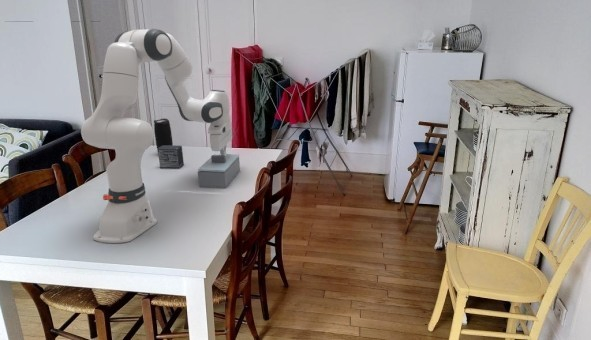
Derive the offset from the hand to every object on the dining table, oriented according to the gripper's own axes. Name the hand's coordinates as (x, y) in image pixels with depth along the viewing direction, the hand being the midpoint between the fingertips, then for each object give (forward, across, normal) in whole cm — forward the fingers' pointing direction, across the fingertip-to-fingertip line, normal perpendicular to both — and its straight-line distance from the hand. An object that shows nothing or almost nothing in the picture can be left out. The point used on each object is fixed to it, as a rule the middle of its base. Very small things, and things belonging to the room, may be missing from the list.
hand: (223, 154), depth 191 cm
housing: (+10, +6, 0) cm, 12 cm away
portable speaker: (+11, -28, -43) cm, 52 cm away
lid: (+2, +6, 0) cm, 6 cm away
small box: (+11, -10, -31) cm, 34 cm away
